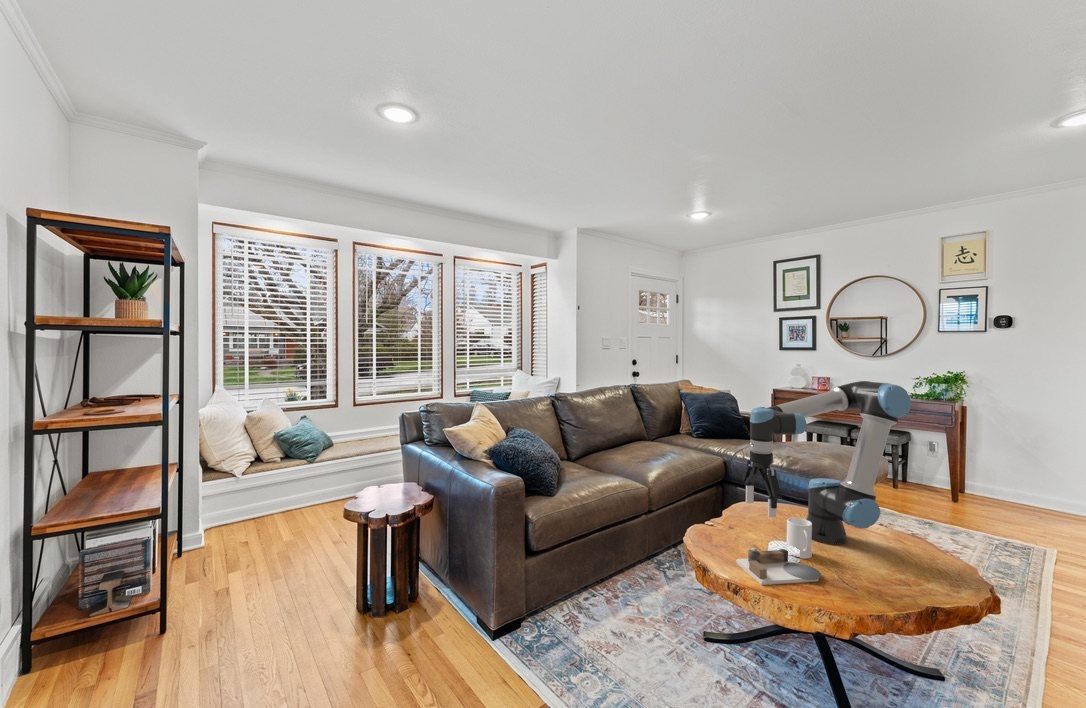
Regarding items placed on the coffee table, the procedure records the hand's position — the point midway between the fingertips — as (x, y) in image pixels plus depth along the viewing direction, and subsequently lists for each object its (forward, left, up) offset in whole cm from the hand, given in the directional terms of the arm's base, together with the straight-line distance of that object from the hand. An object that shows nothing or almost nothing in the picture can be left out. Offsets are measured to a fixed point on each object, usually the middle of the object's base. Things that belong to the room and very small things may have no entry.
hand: (760, 509), depth 168 cm
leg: (+1, +7, -16) cm, 17 cm away
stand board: (-1, +11, -17) cm, 21 cm away
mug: (-16, +1, -17) cm, 23 cm away
